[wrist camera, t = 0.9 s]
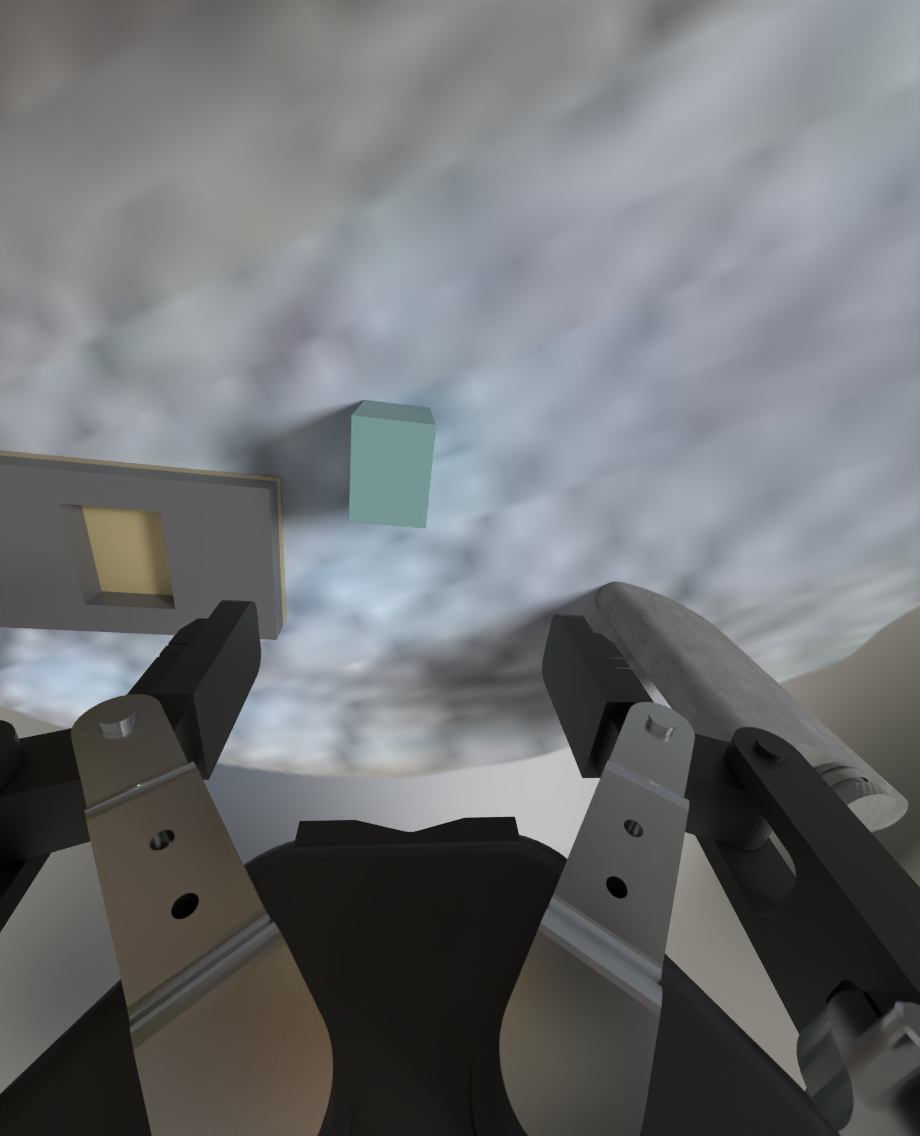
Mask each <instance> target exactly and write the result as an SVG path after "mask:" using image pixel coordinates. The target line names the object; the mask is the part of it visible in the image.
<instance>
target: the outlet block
mask: <svg viewBox="0 0 920 1136" xmlns="http://www.w3.org/2000/svg"><path fill="white" fill-rule="evenodd" d="M222 600H239V601H254V602H255V604H256V607H257V615H258V625H259V636H260V639H272V640H277V638H278V636H279V634H280V631H281V629H282V627H283V625H284V623H285V620H286V604H285V579H284V555H283V530H282V505H281V480H280V478H279V477H269V476H258V475H248V474H237V473H227V472H216V471H206V470H195V469H185V468H175V467H164V466H154V465H143V464H133V463H122V462H112V461H101V460H91V459H80V458H70V457H59V456H49V455H38V454H28V453H17V452H7V451H0V627H12V628H34V629H56V630H77V631H99V632H121V633H142V634H164V635H176V633H177V632H178V631H179V630H180V629H181V628H183V627H184V626H186V625H188V624H189V623H191V622H193V621H194V620H196V619H197V618H207V619H208V617H209V616H210V615H211V613H212V612H213V611H214V609H215V608H216V607H217V605H218V604H219V603H220V601H222Z"/></svg>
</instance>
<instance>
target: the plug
mask: <svg viewBox="0 0 920 1136" xmlns="http://www.w3.org/2000/svg"><path fill="white" fill-rule="evenodd" d="M435 430H436V424H435V421H434V418H433V415H432V412H431V410H430V408H427V407H418V406H410V405H402V404H394V403H386V402H377V401H369V400H364V401H363V402H362V404H361V405H360V406H359V407H358V408H357V409H356V411H355V412H354V413H353V414H352V415H351V454H350V494H349V522H356V523H368V524H380V525H392V526H404V527H416V528H426V519H427V509H428V499H429V489H430V479H431V469H432V460H433V450H434V440H435Z"/></svg>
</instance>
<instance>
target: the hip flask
mask: <svg viewBox="0 0 920 1136" xmlns="http://www.w3.org/2000/svg"><path fill="white" fill-rule="evenodd" d="M596 604H597V606H598V608H599V609H600V611H601V612H602V613H603V615H604V616H605V618H606V619H607V620H608V622H609V623H610V624H611V626H612V627H613V628H614V630H615V631H616V633H617V634H618V635H619V637H620V638H621V639H622V641H623V642H624V644H625V645H626V646H627V648H628V649H629V650H630V652H631V653H632V655H633V656H634V657H635V659H636V660H637V661H638V663H639V664H640V666H641V667H642V668H643V670H644V671H645V672H646V674H647V675H648V676H649V678H650V679H651V681H652V682H653V683H654V685H655V686H656V687H657V689H658V690H659V692H660V693H661V694H662V696H663V697H664V698H665V700H666V701H667V703H668V704H669V705H670V707H671V708H672V709H673V710H674V711H676V712H677V713H679V714H680V715H681V716H682V717H684V718H685V719H686V720H687V721H688V722H689V724H690V725H691V727H692V728H693V731H694V733H696V734H699V735H703V736H707V737H711V738H715V739H719V740H723V741H727V742H730V740H731V738H732V736H733V734H734V732H735V731H736V730H737V729H739V728H742V727H755V728H760V729H763V730H766V731H769V732H771V733H773V734H775V735H777V736H779V737H781V738H783V739H784V740H786V741H787V742H789V743H790V744H791V745H792V746H794V747H795V748H796V749H797V750H798V751H799V752H800V753H801V754H802V755H803V757H804V758H805V759H806V760H807V761H808V762H809V763H810V764H811V766H812V767H813V768H814V769H815V770H816V771H817V772H818V773H819V775H820V776H821V777H822V778H823V779H824V780H825V781H826V782H827V784H828V785H829V786H830V787H831V788H832V789H833V790H834V791H835V793H836V794H837V795H838V796H839V797H840V798H841V799H842V800H843V802H844V803H845V804H846V805H847V806H848V807H849V808H850V809H851V811H852V812H853V813H854V814H855V815H856V816H857V817H858V818H859V820H860V821H861V822H862V823H863V824H864V825H865V826H866V827H867V829H868V830H869V831H870V832H873V831H875V830H880V829H883V828H886V827H888V826H890V825H892V824H893V823H895V822H896V821H898V820H899V819H900V818H901V817H902V816H903V815H904V814H905V812H906V811H907V808H908V802H907V800H906V799H905V798H904V797H903V796H902V795H901V794H900V793H898V792H897V791H896V790H895V789H894V788H893V787H892V786H891V785H890V784H889V783H887V782H886V781H885V780H884V779H883V778H882V777H881V776H880V775H879V774H877V773H876V772H875V771H874V770H873V769H872V768H871V767H870V766H869V765H868V764H867V763H865V762H864V761H863V760H862V759H861V758H860V757H859V756H858V755H857V754H855V753H854V752H853V751H852V750H851V749H850V748H849V747H848V746H847V745H846V744H845V743H843V742H842V741H841V740H840V739H839V738H838V737H837V736H836V735H835V734H833V733H832V732H831V731H830V730H829V729H828V728H827V727H826V726H825V725H823V724H822V723H821V722H820V721H819V720H818V719H817V718H816V717H815V716H814V715H813V714H811V713H810V712H809V711H808V710H807V709H806V708H805V707H804V706H803V705H801V704H800V703H799V702H798V701H797V700H796V699H795V698H794V697H793V696H792V695H790V694H789V693H788V692H787V691H786V690H785V689H784V688H783V687H782V686H781V685H780V684H778V683H777V682H776V681H775V680H774V679H773V678H772V677H771V676H770V675H768V674H767V673H766V672H765V671H764V670H763V669H762V668H761V667H760V666H759V665H757V664H756V663H755V662H754V661H753V660H752V659H751V658H750V657H749V656H748V655H746V654H745V653H744V652H743V651H742V650H741V649H740V648H739V647H738V646H737V645H735V644H734V643H733V642H732V641H731V640H730V639H729V638H728V637H727V636H726V635H724V634H723V633H722V632H721V631H720V630H719V629H718V628H716V627H715V626H714V625H713V624H711V623H710V622H709V621H707V620H706V619H704V618H703V617H701V616H700V615H698V614H697V613H695V612H693V611H692V610H690V609H688V608H686V607H684V606H682V605H681V604H679V603H677V602H675V601H673V600H671V599H668V598H666V597H664V596H662V595H659V594H657V593H654V592H652V591H649V590H646V589H643V588H640V587H637V586H634V585H630V584H626V583H622V582H612V583H609V584H607V585H605V586H604V587H603V588H602V589H601V590H600V591H599V593H598V595H597V598H596Z"/></svg>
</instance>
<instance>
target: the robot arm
mask: <svg viewBox="0 0 920 1136" xmlns="http://www.w3.org/2000/svg"><path fill="white" fill-rule="evenodd" d="M260 661H261V646H260V636H259V625H258V615H257V607H256V604H255V602H254V601H239V600H222V601H220V603H219V604H218V605H217V607H216V608H215V609H214V611H213V612H212V613H211V615H210V616H209V617H208V619H207V618H197V619H196V620H194V621H193V622H191V623H189V624H188V625H186V626H184V627H183V628H181V629H180V630H179V631H178V632H177V633H176V635H175V636H174V637H173V638H172V639H171V641H170V642H169V645H168V646H166V647H165V648H164V649H163V651H162V652H161V653H160V656H159V657H157V658H156V659H155V661H154V662H153V663H152V664H151V665H150V667H149V668H148V669H147V670H146V672H145V673H144V674H143V675H142V677H141V678H140V679H139V680H138V682H137V683H136V684H135V685H134V686H133V688H132V689H131V690H130V691H129V693H128V694H127V695H125V696H120V697H116V698H112V699H110V700H107V701H104V702H102V703H100V704H98V705H96V706H94V707H92V708H91V709H89V710H88V711H86V712H85V713H84V714H83V715H82V716H80V717H79V718H78V720H77V721H76V722H75V723H74V725H73V727H72V728H70V729H66V730H61V731H56V732H51V733H47V734H41V735H36V736H31V737H26V738H21V739H19V738H18V735H17V733H16V731H15V728H14V727H13V725H11V724H10V723H8V722H6V721H2V720H0V932H1V930H2V929H3V927H4V926H5V924H6V923H7V921H8V919H9V918H10V916H11V915H12V913H13V912H14V910H15V909H16V907H17V905H18V904H19V902H20V901H21V899H22V898H23V896H24V894H25V893H26V891H27V890H28V888H29V887H30V885H31V883H32V882H33V880H34V879H35V877H36V876H37V874H38V873H39V871H40V869H41V868H42V866H43V865H44V863H45V862H46V860H47V858H48V857H49V855H50V854H51V852H55V851H58V850H62V849H65V848H69V847H72V846H76V845H79V844H83V843H86V842H89V841H91V845H92V849H93V854H94V859H95V863H96V867H97V873H98V876H99V882H100V886H101V891H102V895H103V900H104V904H105V909H106V914H107V918H108V923H109V927H110V932H111V936H112V941H113V945H114V950H115V954H116V959H117V964H118V968H119V973H120V977H121V979H120V980H119V981H118V982H117V983H116V984H115V985H114V986H113V987H112V988H111V989H110V990H109V991H108V992H107V993H105V995H103V996H102V998H100V999H99V1000H98V1001H97V1002H96V1003H95V1004H94V1005H93V1006H92V1007H91V1008H90V1009H89V1010H88V1011H87V1012H86V1013H84V1014H83V1015H82V1016H81V1017H80V1018H79V1019H78V1020H77V1021H76V1022H75V1023H74V1024H73V1025H72V1026H71V1027H70V1028H69V1029H68V1030H67V1031H66V1032H65V1033H64V1034H62V1035H61V1036H60V1037H59V1038H58V1039H57V1040H56V1041H55V1042H54V1043H53V1044H52V1045H51V1046H50V1047H49V1048H48V1049H47V1050H46V1051H45V1052H44V1053H42V1054H41V1055H40V1056H39V1057H38V1058H37V1059H36V1060H35V1061H34V1062H33V1063H32V1064H31V1065H30V1066H29V1067H28V1068H27V1069H26V1070H25V1071H24V1072H23V1073H21V1075H19V1076H18V1077H17V1078H16V1079H15V1080H14V1081H13V1082H12V1083H11V1084H10V1085H9V1086H8V1087H7V1088H6V1089H5V1090H4V1091H3V1092H2V1093H1V1094H0V1136H920V887H919V886H918V885H917V884H916V883H915V881H914V880H913V879H912V878H911V877H910V876H909V875H908V874H907V872H906V871H905V870H904V869H903V868H902V867H901V866H900V865H899V863H898V862H897V861H896V860H895V859H894V858H893V857H892V856H891V854H890V853H889V852H888V851H887V850H886V849H885V848H884V847H883V845H882V844H881V843H880V842H879V841H878V840H877V839H876V838H875V836H874V835H873V834H872V833H871V832H870V831H869V830H868V829H867V827H866V826H865V825H864V824H863V823H862V822H861V821H860V820H859V818H858V817H857V816H856V815H855V814H854V813H853V812H852V811H851V809H850V808H849V807H848V806H847V805H846V804H845V803H844V802H843V800H842V799H841V798H840V797H839V796H838V795H837V794H836V793H835V791H834V790H833V789H832V788H831V787H830V786H829V785H828V784H827V782H826V781H825V780H824V779H823V778H822V777H821V776H820V775H819V773H818V772H817V771H816V770H815V769H814V768H813V767H812V766H811V764H810V763H809V762H808V761H807V760H806V759H805V758H804V757H803V755H802V754H801V753H800V752H799V751H798V750H797V749H796V748H795V747H794V746H792V745H791V744H790V743H789V742H787V741H786V740H784V739H783V738H781V737H779V736H777V735H775V734H773V733H771V732H769V731H766V730H763V729H760V728H755V727H742V728H739V729H737V730H736V731H735V732H734V734H733V736H732V738H731V740H730V742H727V741H723V740H719V739H715V738H711V737H707V736H703V735H699V734H696V733H694V731H693V728H692V727H691V725H690V724H689V722H688V721H687V720H686V719H685V718H684V717H682V716H681V715H680V714H679V713H677V712H676V711H674V710H672V709H670V708H668V707H666V706H663V705H661V704H657V703H654V702H653V700H652V699H651V698H650V696H649V695H648V693H647V692H646V690H645V689H644V687H643V686H642V684H641V683H640V681H639V680H638V678H637V677H636V676H635V674H634V673H633V671H632V670H630V667H629V665H628V664H627V662H626V661H625V660H623V656H622V655H621V654H620V652H619V651H618V649H617V648H616V646H615V645H614V644H613V643H612V642H610V641H609V640H608V639H606V638H605V637H604V636H603V635H601V634H597V633H594V632H593V631H592V629H591V628H590V626H589V625H588V623H587V621H586V620H585V618H584V617H583V616H581V615H555V616H554V617H553V619H552V622H551V626H550V631H549V635H548V639H547V644H546V648H545V652H544V657H543V663H542V673H543V679H544V683H545V685H546V688H547V690H548V693H549V695H550V698H551V700H552V703H553V705H554V708H555V710H556V713H557V715H558V718H559V720H560V723H561V725H562V728H563V730H564V733H565V735H566V738H567V740H568V743H569V745H570V748H571V750H572V753H573V755H574V758H575V760H576V763H577V765H578V768H579V770H580V773H581V775H582V778H600V780H599V783H598V786H597V788H596V790H595V793H594V795H593V798H592V800H591V803H590V805H589V808H588V810H587V813H586V815H585V818H584V820H583V822H582V825H581V828H580V830H579V832H578V835H577V837H576V840H575V842H574V845H573V847H572V850H571V852H570V854H569V857H568V859H567V858H565V857H564V856H563V855H561V854H560V853H559V852H557V851H555V850H554V849H552V848H551V847H549V846H547V845H545V844H543V843H541V842H539V841H537V840H534V839H531V838H528V837H526V836H521V835H519V833H518V829H517V824H516V820H515V817H482V818H481V817H480V818H462V819H459V820H455V821H451V822H448V823H444V824H441V825H437V826H434V827H430V828H427V829H423V830H419V831H415V832H405V831H400V830H396V829H392V828H387V827H383V826H378V825H374V824H370V823H366V822H361V821H357V820H337V821H336V820H334V821H300V822H299V827H298V831H297V835H296V839H295V840H294V841H291V842H287V843H284V844H282V845H279V846H277V847H274V848H272V849H270V850H268V851H266V852H264V853H262V854H260V855H258V856H256V857H255V858H253V859H252V860H250V861H249V862H247V863H246V864H244V865H243V863H242V860H241V858H240V856H239V854H238V852H237V850H236V848H235V846H234V844H233V842H232V840H231V837H230V835H229V834H228V832H227V829H226V827H225V825H224V823H223V821H222V819H221V817H220V814H219V812H218V810H217V808H216V806H215V804H214V802H213V800H212V798H211V796H210V793H209V791H208V790H207V787H206V785H205V783H204V781H203V780H209V778H210V776H211V774H212V772H213V769H214V767H215V765H216V763H217V761H218V759H219V757H220V754H221V752H222V750H223V748H224V746H225V744H226V741H227V739H228V737H229V735H230V733H231V731H232V729H233V726H234V724H235V722H236V720H237V718H238V716H239V713H240V711H241V709H242V707H243V705H244V703H245V700H246V698H247V696H248V694H249V692H250V690H251V687H252V685H253V683H254V681H255V679H256V677H257V674H258V671H259V667H260ZM772 830H773V831H774V832H775V834H776V835H777V837H778V838H779V840H780V841H781V843H782V844H783V845H784V847H785V848H786V850H787V851H788V853H789V854H790V856H791V858H792V860H793V863H794V865H795V869H796V877H795V876H794V874H793V873H792V871H791V870H790V868H789V867H788V865H787V864H786V862H785V861H784V859H783V858H782V856H781V855H780V853H779V852H778V850H777V849H776V847H775V846H774V844H773V843H772V841H771V840H770V838H769V835H770V834H771V832H772ZM685 832H687V833H690V834H694V835H695V836H696V838H697V840H698V841H699V843H700V845H701V847H702V849H703V851H704V853H705V855H706V857H707V859H708V861H709V863H710V864H711V866H712V868H713V870H714V872H715V874H716V876H717V878H718V880H719V881H720V883H721V885H722V887H723V889H724V891H725V893H726V895H727V897H728V899H729V901H730V903H731V904H732V907H733V908H734V910H735V912H736V914H737V916H738V918H739V920H740V922H741V924H742V926H743V927H744V929H745V931H746V933H747V935H748V937H749V939H750V941H751V943H752V945H753V947H754V949H755V950H756V952H757V954H758V956H759V958H760V960H761V962H762V964H763V966H764V968H765V969H766V972H767V974H768V975H769V977H770V979H771V981H772V983H773V985H774V987H775V989H776V991H777V993H778V995H779V996H780V998H781V1000H782V1002H783V1004H784V1006H785V1008H786V1010H787V1012H788V1014H789V1016H790V1018H791V1019H792V1021H793V1023H794V1025H795V1027H796V1029H797V1031H798V1033H799V1037H798V1040H797V1059H798V1064H799V1068H800V1072H801V1074H802V1077H803V1080H804V1082H805V1085H806V1087H807V1088H806V1091H804V1090H803V1089H802V1088H801V1087H800V1086H799V1085H798V1084H797V1083H796V1082H795V1081H794V1080H793V1079H792V1078H791V1077H790V1076H789V1075H788V1074H787V1073H786V1072H785V1071H784V1070H783V1069H782V1068H781V1067H780V1066H779V1065H778V1064H777V1063H776V1062H775V1061H774V1060H773V1059H772V1058H771V1057H770V1056H769V1055H768V1054H767V1053H766V1052H765V1051H764V1050H763V1049H762V1048H761V1047H760V1046H759V1045H758V1044H757V1043H756V1042H755V1041H753V1040H752V1039H751V1038H750V1037H749V1036H748V1035H747V1034H746V1033H745V1032H744V1031H743V1030H742V1029H741V1028H740V1027H739V1026H738V1025H737V1024H736V1023H735V1022H734V1021H733V1020H732V1019H731V1018H730V1017H729V1016H728V1015H727V1014H726V1013H725V1012H724V1011H723V1010H722V1009H721V1008H720V1007H719V1006H718V1005H717V1004H716V1003H715V1002H714V1001H713V1000H712V999H711V998H710V997H708V995H707V994H706V993H704V991H703V990H702V989H701V988H699V986H698V985H697V984H696V983H694V982H693V981H692V980H691V979H690V978H689V977H688V976H687V975H686V974H685V973H684V972H683V971H682V970H681V969H680V968H679V967H678V966H677V965H676V964H675V963H674V962H673V961H672V960H671V959H670V958H669V957H668V956H667V955H666V954H665V948H666V942H667V936H668V930H669V923H670V918H671V912H672V906H673V900H674V894H675V888H676V882H677V876H678V870H679V864H680V858H681V852H682V846H683V840H684V834H685Z"/></svg>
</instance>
